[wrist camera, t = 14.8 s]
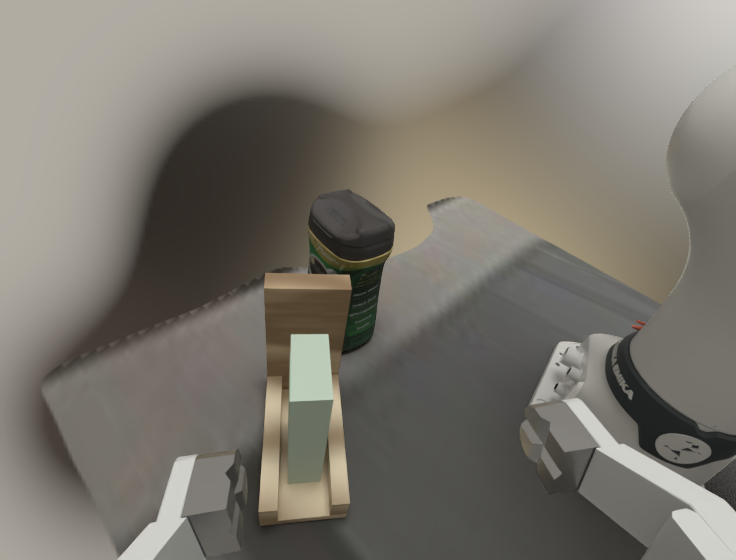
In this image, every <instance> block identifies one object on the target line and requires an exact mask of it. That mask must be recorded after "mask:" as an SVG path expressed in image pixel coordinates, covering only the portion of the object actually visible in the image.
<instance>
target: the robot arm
mask: <svg viewBox="0 0 736 560" xmlns="http://www.w3.org/2000/svg"><path fill="white" fill-rule="evenodd" d="M666 172H667V179H668V183H669V186H670V189H671V192H672V194H673V196H674V198H675V199H676V201H677V202H678V204H679V206H680V208H681V210H682V212H683V214H684V216H685V219H686V222H687V226H688V231H689V253H688V259H687V263H686V266H685V269H684V271H683V273H682V276H681V278H680V280H679V281H678V283H677V285H676V286H675V287H674V289H673V290H672V292H671V293H670V294H669V296H668V297H667V298H666V300H665V301H664V302H663V304H662V305H661V306H660V307H659V309H658V310H657V311H656V312H655V313H654V315H653V316H652V317H651V318H650V319H649V321H648V322H647V323H644V322H641V321H638V320H637V322H638V323H639V324H641V325H643V327H641V326H635V325H633V326H632V328H634V329H636V330H638V331H636V332H634V333H632V334H630V335H628V336H626V337H625V338H620V337H617V336H613V335H608V334H592V335H590V336H588V337H587V338H586V339H585V340H584V341H583V342H582V344H581V343H576V342H559V343H558V344H557V345H556V347H555V348H554V350H553V352H552V354H551V357H550V359H549V361H548V363H547V365H546V368H545V370H544V372H543V374H542V376H541V378H540V381H539V383H538V385H537V387H536V389H535V392H534V394H533V396H532V398H531V400H530V403H529V405H528V406H527V407H526V408H525V411H524V416H525V417H526V420H525V421H524V422H523V423H522V424H521V427H520V432H519V435H520V441H521V445H522V447H523V450H524V452H525V453H526V455H527V457H528V458H529V459H530V460H532V461H533V462H535V463H536V464H537V470H536V473H537V474H538V476H539V478H540V479H541V481H542V483H543V484H544V486H545V488H546V490H547V491H548V493H549V494H555V493H562V492H568V491H575V490H578V492H579V493H580V494H581V495H583V496H584V497H585V498H586V499H587V500H589V501H590V502H591V503H592V504H594V505H595V506H596V507H597V508H599V509H600V510H601V511H602V512H604V513H605V514H606V515H607V516H609V517H610V518H611V519H612V520H614V521H615V522H616V523H617V524H618V525H620V526H621V527H622V528H623V529H625V530H626V531H627V532H628V533H630V534H631V535H632V536H633V537H635V538H636V539H637V540H638V541H640V542H641V543H642V544H643V545H645V546H646V547H647V548H648V549H647V551H646V552H645V554H644V555H643V557H642V558H641V560H736V512H735V511H734V509H733V508H732V507H731V506H730V505H729V504H728V503H727V502H726V501H725V500H724V499H722V498H720V497H718V496H716V495H715V494H713V493H711V492H709V491H707V490H706V489H705V486H704V483H706V482H707V481H708V480H709V479H711V478H712V477H713V476H714V475H716V474H717V473H718V472H719V471H720V470H722V469H723V468H724V467H725V466H727V465H728V464H729V463H730V462H731V461H733V460H734V459H735V458H736V66H734V67H733V68H731V69H730V70H728V71H727V72H725V73H724V74H722V75H721V76H720V77H718V78H717V79H716V80H715V81H713V82H712V83H711V84H710V85H709V86H708V87H706V89H704V90H703V91H702V92H701V93H700V94H699V95H698V96H697V97H696V99H695V100H694V101H693V102H692V103H691V104H690V105H689V107H688V108H687V109H686V111H685V112H684V114H683V115H682V117H681V118H680V120H679V122H678V123H677V126H676V127H675V129H674V132H673V134H672V136H671V139H670V143H669V146H668V150H667V157H666ZM246 503H247V475H246V471H245V468H244V467H243V466H241V454H240V451H239V449H237V450H229V451H221V452H213V453H205V454H196V455H189V456H182V457H178V458H177V460H176V461H175V463H174V465H173V468H172V471H171V475H170V478H169V481H168V484H167V488H166V491H165V494H164V498H163V501H162V504H161V507H160V511H159V514H158V517H157V521H156V522H154V523H150V524H149V525H148V526H147V527H146V528H145V529H144V530H143V531H142V533H141V534H140V535H139V536H138V537H137V538H136V539H135V540H134V542H133V543H132V544H131V545H130V546H129V547H128V548H127V549H126V551H125V552H124V553H123V554H122V555H121V556H120V557H119V558H118V560H206V558H207V557H212V556H217V555H221V554H226V553H231V552H236V551H240V550H241V547H242V538H243V530H244V520H243V517H242V514H241V512H242V510H243V509H244V507H245V506H246Z"/></svg>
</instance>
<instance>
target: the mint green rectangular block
mask: <svg viewBox="0 0 736 560" xmlns="http://www.w3.org/2000/svg"><path fill="white" fill-rule="evenodd" d="M333 400H334V399H333V386H332V374H331V361H330V349H329V336H328V334H291V348H290V367H289V409H288V484H297V483H309V482H320V481H321V475H322V468H323V462H324V456H325V450H326V444H327V437H328V431H329V425H330V419H331V413H332V406H333Z"/></svg>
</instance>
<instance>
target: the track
mask: <svg viewBox="0 0 736 560" xmlns="http://www.w3.org/2000/svg"><path fill="white" fill-rule="evenodd" d="M351 292H352V287H351V281H350V275H333V274H289V273H266V274H265V285H264V297H265V323H266V349H267V375H268V377H267V392H266V407H265V422H264V437H263V452H262V467H261V482H260V497H259V522H260V526H263V525H273V524H283V523H293V522H303V521H312V520H322V519H332V518H342V517H346V515H347V512H348V508H349V505H350V498H349V487H348V477H347V466H346V455H345V444H344V433H343V422H342V411H341V400H340V390H339V379H338V372H339V366H340V360H341V353H342V347H343V341H344V335H345V329H346V323H347V316H348V310H349V304H350V298H351ZM291 334H328V336H329V349H330V361H331V374H332V386H333V399H334V400H333V406H332V413H331V419H330V425H329V431H328V437H327V444H326V450H325V456H324V462H323V468H322V475H321V481H320V482H309V483H297V484H288V409H289V367H290V348H291Z"/></svg>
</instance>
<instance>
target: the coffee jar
mask: <svg viewBox="0 0 736 560" xmlns="http://www.w3.org/2000/svg"><path fill="white" fill-rule="evenodd" d="M394 231H395V225H394V222H393V221H392V219H390V218H389V217H388V216H387V215H386V214H385V213H383V212H382V211H381V210H380V209H379V208H377V207H376V206H375V205H373V204H372V203H370V202H369V201H368V200H366V199H365V198H363V197H361V196H359V195H357V194H355V193H352V192H351V191H350V190H348V189H347V190H340V191H334V192H330V193H325V194H322V195H319V197H318V198H317V199H316V200H315V201H314V203H313V204H312V207H311V210H310V216H309V222H308V233H309V243H310V258H309V268H308V274H333V275H350V281H351V287H352V292H351V298H350V304H349V310H348V316H347V323H346V329H345V335H344V341H343V347H342V351H348V350H351V349H354V348H356V347H358V346H360V345H362V344H364V343H365V342H366V341H368V340H369V339H370V338H371V336H372V334H373V331H374V326H375V320H376V312H377V303H378V296H379V289H380V283H381V276H382V271H383V267H384V264H385V261H386V260H387V258H388V257H389V255H390V253H391V251H392V249H393V241H394Z"/></svg>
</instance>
